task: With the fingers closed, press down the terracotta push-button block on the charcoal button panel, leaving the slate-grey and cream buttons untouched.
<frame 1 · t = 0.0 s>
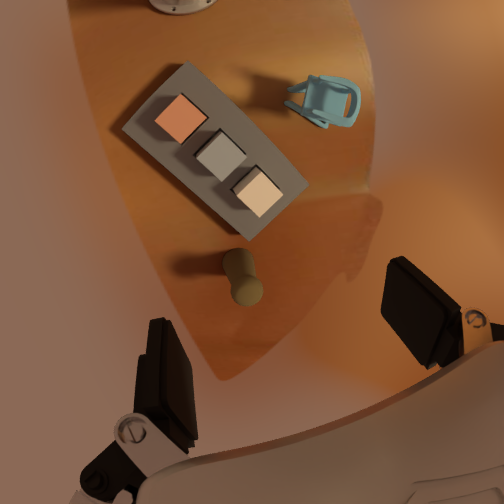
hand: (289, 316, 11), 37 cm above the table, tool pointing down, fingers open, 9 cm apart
cork: (237, 261, 53), on the table
chair: (307, 101, 41), on the table
terracotta button: (181, 118, 35), point 5 cm above the table, slide at 0.0 cm
cream button: (257, 191, 42), point 5 cm above the table, slide at 0.0 cm
slate button: (220, 155, 39), point 5 cm above the table, slide at 0.0 cm
button panel: (218, 151, 43), on the table
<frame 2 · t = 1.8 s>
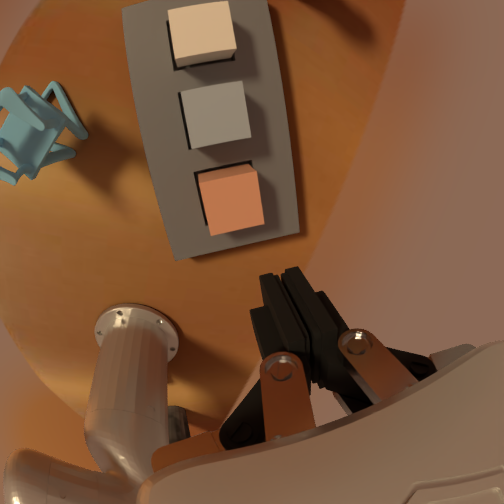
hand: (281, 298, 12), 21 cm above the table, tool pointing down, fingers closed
chair: (58, 126, 23), on the table
beverage cup: (174, 410, 47), on the table
terracotta button: (230, 197, 26), point 5 cm above the table, slide at 0.0 cm
cream button: (200, 34, 18), point 5 cm above the table, slide at 0.0 cm
slate button: (214, 114, 22), point 5 cm above the table, slide at 0.0 cm
button panel: (211, 115, 26), on the table
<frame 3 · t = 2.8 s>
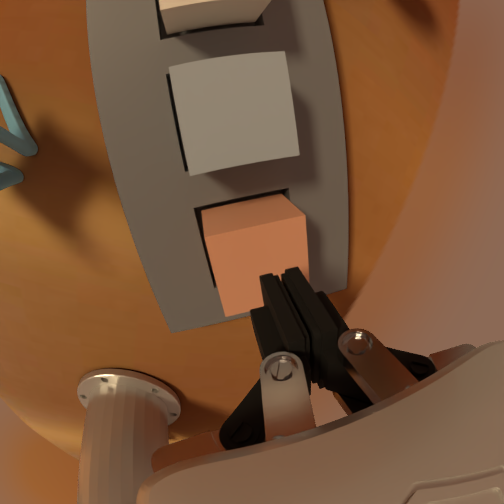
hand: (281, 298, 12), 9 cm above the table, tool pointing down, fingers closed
chair: (1, 138, 13), on the table
terracotta button: (254, 252, 16), point 5 cm above the table, slide at 0.0 cm
slate button: (230, 110, 12), point 5 cm above the table, slide at 0.0 cm
button panel: (221, 113, 16), on the table
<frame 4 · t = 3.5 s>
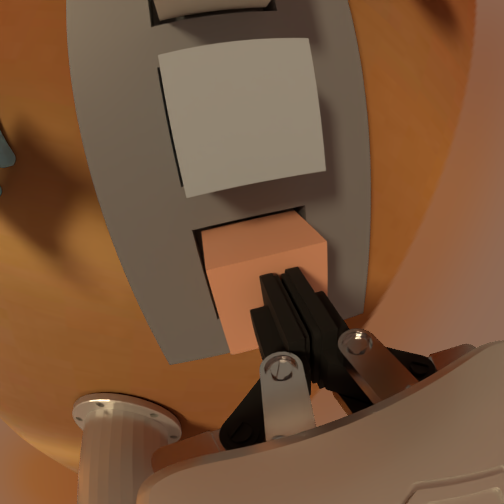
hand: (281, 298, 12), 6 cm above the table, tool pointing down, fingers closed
terracotta button: (264, 280, 14), point 4 cm above the table, slide at 0.2 cm, touching gripper
slate button: (238, 112, 10), point 5 cm above the table, slide at 0.0 cm
button panel: (224, 114, 14), on the table
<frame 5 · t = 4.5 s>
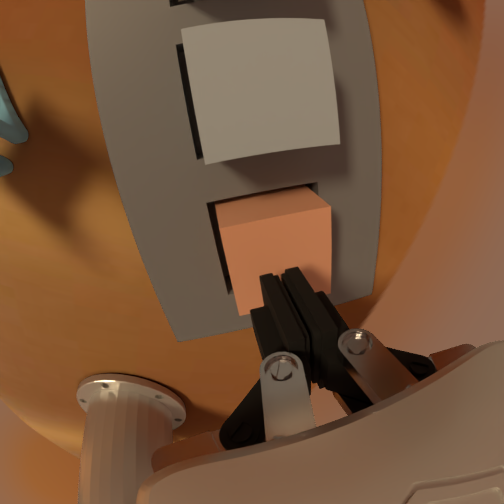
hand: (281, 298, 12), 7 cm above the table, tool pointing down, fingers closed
terracotta button: (272, 245, 15), point 3 cm above the table, slide at 1.2 cm
slate button: (255, 87, 10), point 5 cm above the table, slide at 0.0 cm
button panel: (239, 93, 14), on the table
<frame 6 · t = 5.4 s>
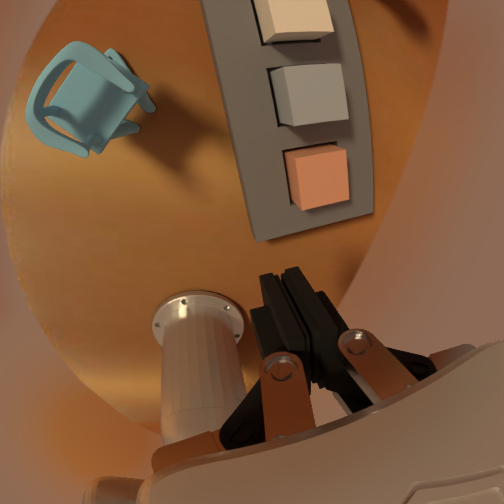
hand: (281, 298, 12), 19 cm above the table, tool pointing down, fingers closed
chair: (116, 99, 22), on the table
terracotta button: (315, 174, 26), point 3 cm above the table, slide at 1.2 cm
cream button: (291, 12, 17), point 5 cm above the table, slide at 0.0 cm
slate button: (308, 93, 21), point 5 cm above the table, slide at 0.0 cm
button panel: (292, 94, 25), on the table
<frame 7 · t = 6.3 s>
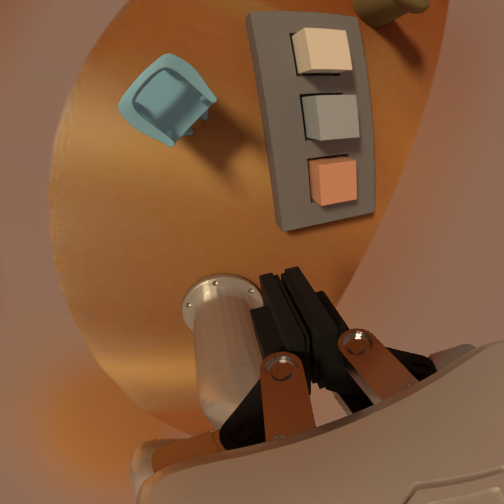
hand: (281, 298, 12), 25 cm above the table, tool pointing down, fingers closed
cork: (370, 10, 25), on the table
chair: (174, 105, 29), on the table
terracotta button: (331, 178, 33), point 3 cm above the table, slide at 1.2 cm
cream button: (321, 51, 24), point 5 cm above the table, slide at 0.0 cm
slate button: (330, 116, 28), point 5 cm above the table, slide at 0.0 cm
button panel: (314, 115, 32), on the table
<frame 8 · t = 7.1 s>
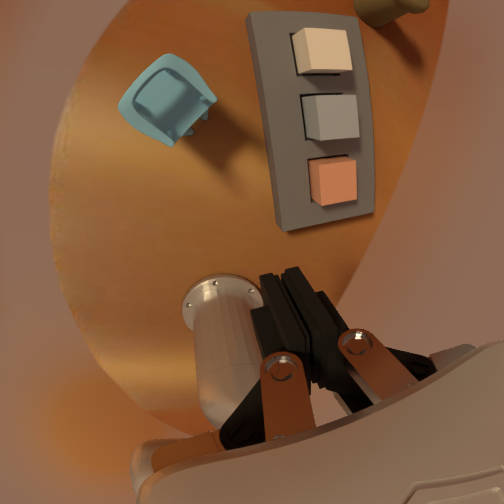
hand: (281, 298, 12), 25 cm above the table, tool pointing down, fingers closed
cork: (370, 10, 25), on the table
chair: (174, 105, 29), on the table
terracotta button: (331, 178, 33), point 3 cm above the table, slide at 1.2 cm
cream button: (321, 51, 24), point 5 cm above the table, slide at 0.0 cm
slate button: (330, 116, 28), point 5 cm above the table, slide at 0.0 cm
button panel: (314, 115, 32), on the table
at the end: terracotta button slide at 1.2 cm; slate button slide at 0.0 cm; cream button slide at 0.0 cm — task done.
